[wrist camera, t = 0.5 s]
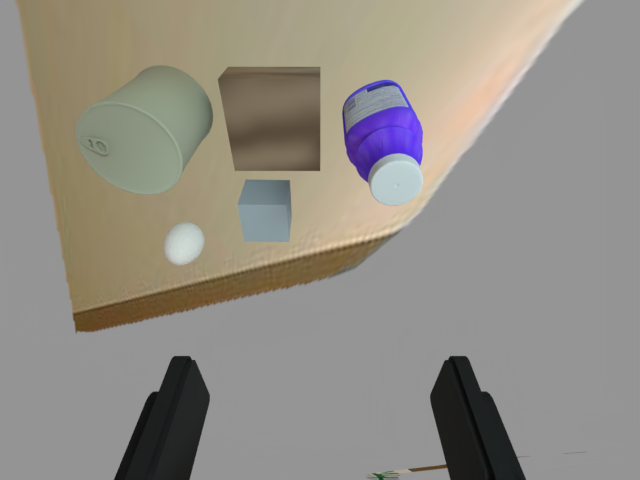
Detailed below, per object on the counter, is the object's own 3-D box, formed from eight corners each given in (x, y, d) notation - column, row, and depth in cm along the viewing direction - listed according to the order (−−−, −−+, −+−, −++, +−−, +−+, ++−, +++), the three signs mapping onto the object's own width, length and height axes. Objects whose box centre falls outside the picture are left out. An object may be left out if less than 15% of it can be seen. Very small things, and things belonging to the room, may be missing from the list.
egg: (216, 230, 51) (203, 264, 45) (194, 245, 53) (179, 280, 47) (188, 207, 48) (171, 241, 43) (166, 225, 50) (147, 259, 45)
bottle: (352, 139, 41) (366, 227, 28) (333, 96, 38) (340, 173, 25) (409, 114, 39) (453, 196, 26) (395, 67, 36) (438, 133, 23)
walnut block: (228, 65, 36) (217, 79, 32) (320, 66, 36) (320, 79, 32) (242, 151, 43) (234, 170, 39) (320, 151, 43) (320, 170, 39)
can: (127, 53, 35) (60, 88, 26) (216, 79, 37) (182, 120, 28) (134, 134, 41) (81, 186, 32) (210, 153, 43) (180, 207, 34)
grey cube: (245, 179, 45) (237, 204, 41) (290, 179, 45) (286, 205, 41) (251, 214, 49) (244, 241, 45) (291, 215, 49) (288, 242, 45)
